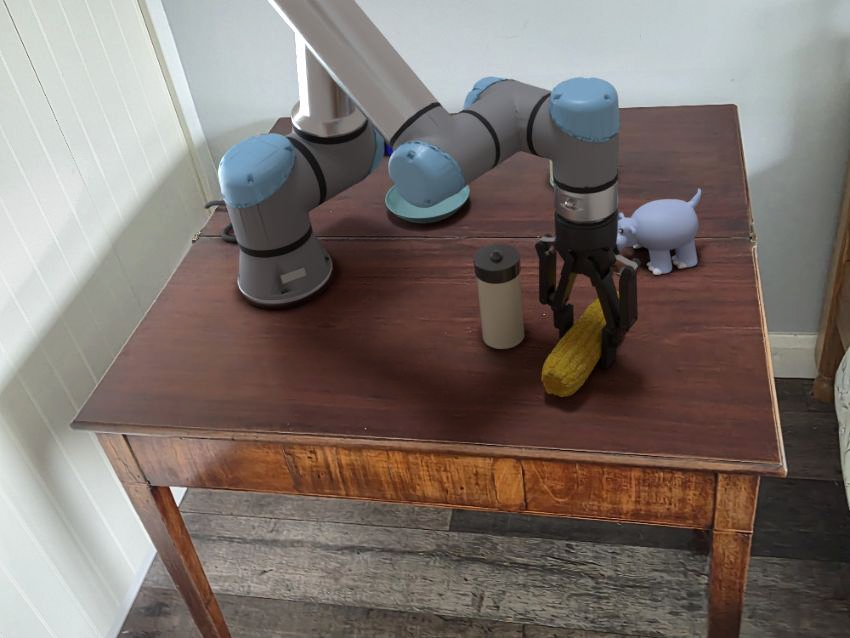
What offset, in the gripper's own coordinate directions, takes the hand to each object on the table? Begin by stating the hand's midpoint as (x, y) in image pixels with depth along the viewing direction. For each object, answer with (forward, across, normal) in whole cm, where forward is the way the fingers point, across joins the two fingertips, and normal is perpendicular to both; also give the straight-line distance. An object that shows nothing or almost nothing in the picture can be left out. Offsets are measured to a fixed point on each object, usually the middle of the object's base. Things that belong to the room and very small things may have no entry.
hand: (587, 353), depth 121 cm
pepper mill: (+1, -13, -2) cm, 13 cm away
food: (0, 0, 0) cm, 0 cm away
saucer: (+1, -42, +21) cm, 48 cm away
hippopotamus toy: (+1, -3, +25) cm, 26 cm away
